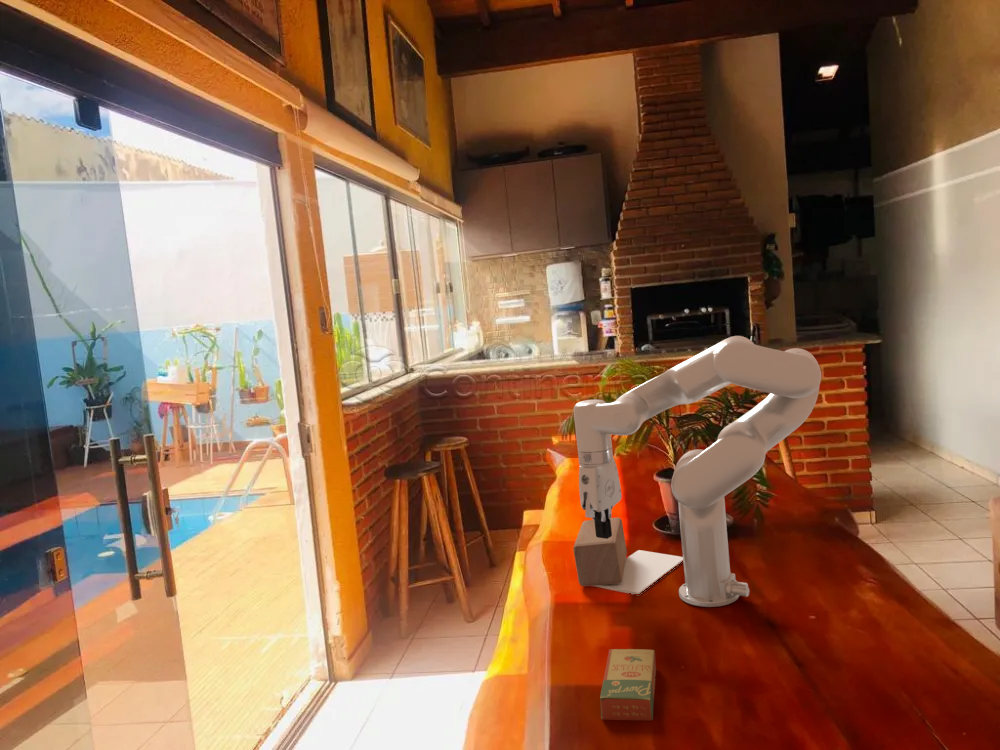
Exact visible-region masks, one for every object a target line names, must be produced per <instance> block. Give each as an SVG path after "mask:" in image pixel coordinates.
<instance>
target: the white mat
mask: <svg viewBox="0 0 1000 750" xmlns="http://www.w3.org/2000/svg"><path fill="white" fill-rule="evenodd" d="M682 561H683V556H679V555H673V554H666V553H660V552H653V551H647V550H642V549H641V550H640V549H638V550H636V551H635V552H633V553H632V554H631V555H628V556H626V560H625V566H624V572H623V578H622V582H621V583H618V584H606V585H594V586H593V587H595V588H596V587H597V588H600V589H604V590H605V589H606V590H609V591H615V592H619V593H625V594H629V593H631V594H630V595H634V594H640V593H641V592H642V591H644V590H645V589H646V588H648V587H649V586H650V585H652V584H653V583H654V582H656V581H657V580H658V579H659V578H661V577H662V576H663V575H664V574H666V573H667V572H669V571H670V570H671V569H673V568H674V567H675V566H677V565H678V564H680V563H681V562H682ZM682 563H683V562H682ZM682 563H681V564H682ZM681 564H680V565H681ZM678 566H679V565H678ZM678 566H677V567H678ZM674 569H675V568H674ZM674 569H673V570H674ZM670 572H671V571H670ZM670 572H669V573H670ZM661 579H662V578H661ZM657 582H658V581H657ZM657 582H656V583H657ZM653 585H654V584H653ZM653 585H652V586H653ZM649 588H650V587H649ZM649 588H648V589H649ZM645 591H646V590H645ZM645 591H644V592H645ZM641 594H642V593H641ZM641 594H640V595H641Z"/></svg>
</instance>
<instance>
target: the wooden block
mask: <svg viewBox="0 0 1000 750" xmlns="http://www.w3.org/2000/svg"><path fill="white" fill-rule="evenodd" d="M610 521H611V531H612V536H611V537H609V538H608V539H605V538H598V537H596V531H595V522H594V521H593V519H589V520H588V519H587V520H584V521H582V523H581V526H580V528H579V531H578V534H577V537H576V539H575V542H574V545H573V549H572V550H573V555H574V556H573V557H574V560H575V561H574V562H575V568H576V573H577V578H578V579H577V581H578V584H580V585H579V586H581V587H595V586H594V585H606V584H618V583H621V582H622V578H623V572H624V566H625V560H626V558H627V554H628V549H627V544H626V539H625V533H624V526H623V521H622V518H621V517H617V516H616V517H611V519H610Z"/></svg>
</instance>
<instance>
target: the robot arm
mask: <svg viewBox="0 0 1000 750" xmlns="http://www.w3.org/2000/svg"><path fill="white" fill-rule="evenodd" d="M821 381H822V371H821V367H820V365H819V361H817V359H816V358H815V357H814V355H813V354H812V353H811V352H810V351H808V350H806V349H804V348H798V347H797V348H796V347H794V348H789V349H786V350H780V349H775V348H770V347H765V346H761V345H757V344H755V343H754V342H753V341H752V340H750V339H749V338H747V337H746V336H745V337H744V336H743V335H734V336H729V337H728V338H725V339H722V340H721V341H720V342H717V343H716V344H714V345H712V346H710V347H709V348H706V349H704V350H703V351H701V352H699V353H697V354H695V355H694V356H692V357H690V358H688V359H686V360H684V361H682V362H681V363H678V364H676V365H675V366H673V367H671V368H669V369H667V370H666V371H664V372H663V373H661V374H660V375H657V376H655V377H653V378H651V379H649V380H647V381H645V382H644V383H642V384H640V385H638V386H637V387H634V388H632V389H631V390H628V391H627V392H625V393H624V394H622V395H620V396H619V397H617V399H616V400H614V401H613V402H606V401H605V400H603V399H586V400H582V401H579V402H577V403H576V404H574V407H573V420H574V427H575V428H574V429H575V437H576V446H577V454H578V455H577V456H578V465H579V470H578V486H579V487H578V491H579V499H580V500H579V501H580V506H581V508H582V510H584V511H585V515H584V516H585V518H589V519H590V518H591V520H593V521H594V522H595V531H596V537H598V538H605V539H608V538H609V537H611V536H612V531H611V521H610V519H611V518H612V515H613V514H612V510H613V508H614V507H615V506H616V504H618V503H619V502H620V501H621V500H622V489H621V481H620V478H619V476H620V475H619V472H618V467H617V464H616V461H615V459H614V453H613V451H614V450H613V445H612V444H613V443H612V435H614V436H631V435H633V434H634V433H636V432H637V431H638V430H639V429H640V428H641V426H642V425H643V423H644V422H645V421H647V420H649V419H651V418H653V417H654V416H657V415H659V414H661V413H662V412H664V411H666V410H668V409H670V408H673V407H676V406H679V405H688V404H689V405H690V404H693V403H696V402H698V401H700V400H702V399H704V398H706V397H707V396H710V395H711V394H714V393H716V392H717V391H719V390H722V389H723V388H725V387H727V386H729V385H731V384H732V385H736V386H739V387H743V388H747V389H750V390H754V391H755V390H756V391H759V392H763V393H767V394H768V395H767V396H766V397H765V398H764V399H763V400H761V401H760V402H759V403H757V404H756V405H755V406H754V407H752V408H751V409H750V410H748V411H746V412H744V414H743V415H741V416H740V417H739V418H737V419H735V420H734V421H732V422H731V423H729V424H728V425H726V426H724V427H723V429H722V430H721V431H720V432H719V433H718V435H717V439H716V440H715V442H713V443H712V444H711V445H709V446H708V447H707V448H705V449H699V448H698V449H692V450H689V451H687V452H685V453H684V454H683V455H682V456H681V457H680V458H679V460H678V461H677V463H676V464H675V468H674V471H673V475H672V477H671V484H670V485H671V492H672V495H673V497H674V499H675V500H676V501H677V503H678V515H679V516H678V517H679V526H680V527H679V529H680V539H681V550H682V557H683V562H682V563H683V573H684V582H685V583H683V584H682V585H681V586H680V587H679V588H678V595H679V598H680V599H681V601H683V602H685V603H686V604H689V605H691V606H695V607H704V608H713V607H714V608H715V607H723V606H726V605H731V604H733V603H734V602H736V601H737V600H738V599H739V597H746V598H747V597H749V596H750V588H749V584H748V583H747V582H742V581H738V580H736V574H735V573H732V572H731V567H730V566H731V565H730V553H729V551H730V550H729V542H728V531H727V530H728V528H727V515H726V502H725V501H726V500H725V496H727V495H728V494H730V493H731V492H733V491H735V490H736V489H737V488H738V487H740V486H742V485H743V484H745V483H746V482H747V481H748V480H750V479H751V478H752V477H754V476H755V475H756V474H757V473H758V472H759V470H761V468H762V467H763V465H764V463H765V461H766V460H765V459H766V455H767V454H766V453H767V452H769V451H770V450H771V449H772V448H774V447H775V446H776V445H777V444H779V443H780V442H782V441H783V440H784V439H786V438H787V437H788V436H790V435H791V434H792V433H793V432H795V431H796V430H797V429H798V428H799V427H800V426H802V424H804V422H805V421H806V420H808V418H809V416H810V415H811V413H812V412H813V409H814V408H815V406H816V403H817V400H818V396H819V392H820V384H821Z"/></svg>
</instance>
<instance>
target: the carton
mask: <svg viewBox="0 0 1000 750" xmlns="http://www.w3.org/2000/svg"><path fill="white" fill-rule="evenodd" d="M606 660H607V661H606V666H605V670H604V675H603V680H602V685H601V691H600V695H599V697H600V719H601V720H604V721H605V720H607V721H608V720H609V721H653V720H654V701H655V692H656V691H655V690H656V678H655V677H656V676H657V668H656V667H657V666H656V665H657V664H656V653H655V650H654V649H643V648H641V649H640V648H636V649H634V648H627V649H625V648H624V649H623V648H620V649H619V648H614V649H612V648H611V649H609V650H608V655H607V659H606Z"/></svg>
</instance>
